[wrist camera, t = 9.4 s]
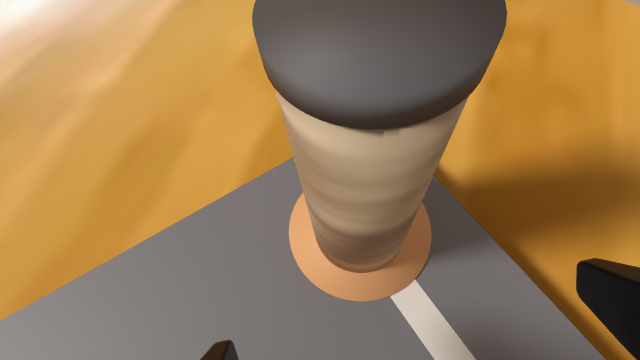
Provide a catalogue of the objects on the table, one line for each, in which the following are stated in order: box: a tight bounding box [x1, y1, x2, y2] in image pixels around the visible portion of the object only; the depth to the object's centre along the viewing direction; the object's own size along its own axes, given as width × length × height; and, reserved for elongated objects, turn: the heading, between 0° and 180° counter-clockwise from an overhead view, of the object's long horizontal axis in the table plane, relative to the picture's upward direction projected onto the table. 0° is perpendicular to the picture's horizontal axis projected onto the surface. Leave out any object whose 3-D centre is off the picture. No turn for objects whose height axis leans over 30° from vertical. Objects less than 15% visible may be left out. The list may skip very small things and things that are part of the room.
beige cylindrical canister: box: [252, 0, 507, 273], centre depth 12 cm, size 5×5×12 cm
